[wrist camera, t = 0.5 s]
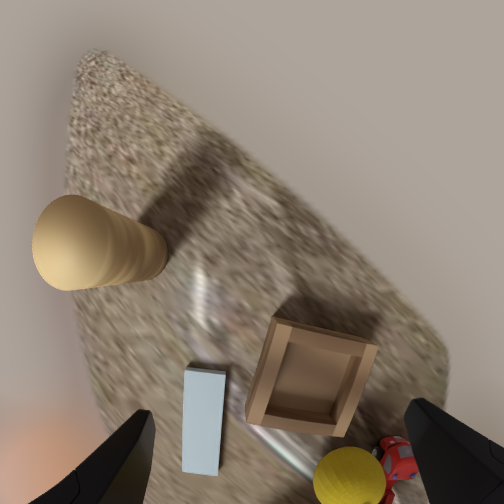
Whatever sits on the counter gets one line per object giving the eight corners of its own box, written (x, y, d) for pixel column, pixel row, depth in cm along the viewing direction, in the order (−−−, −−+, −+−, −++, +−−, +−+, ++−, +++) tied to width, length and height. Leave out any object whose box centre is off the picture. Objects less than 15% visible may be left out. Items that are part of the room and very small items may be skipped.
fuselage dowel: (160, 287, 22) (93, 303, 11) (113, 271, 22) (24, 273, 11) (174, 234, 22) (118, 206, 11) (127, 221, 22) (46, 186, 11)
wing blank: (218, 470, 21) (217, 475, 20) (183, 466, 21) (182, 471, 20) (226, 371, 22) (225, 375, 21) (186, 366, 22) (184, 370, 21)
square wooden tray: (332, 420, 22) (343, 437, 19) (245, 405, 22) (246, 422, 19) (362, 337, 22) (378, 346, 19) (272, 315, 22) (277, 323, 19)
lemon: (314, 430, 22) (341, 487, 14) (371, 430, 22) (412, 478, 14) (298, 477, 21) (316, 536, 13) (353, 476, 22) (383, 527, 14)
